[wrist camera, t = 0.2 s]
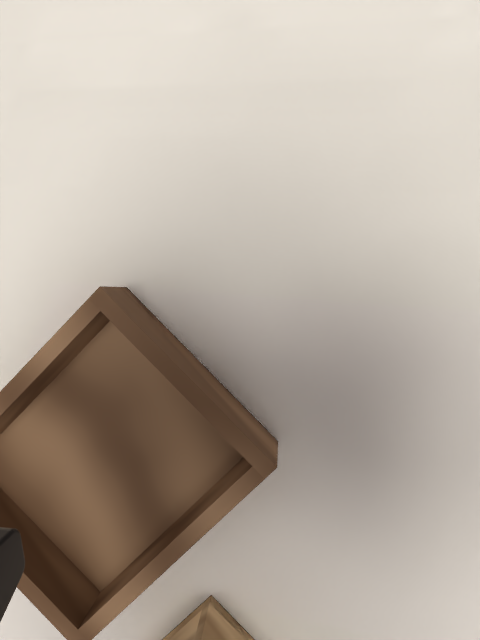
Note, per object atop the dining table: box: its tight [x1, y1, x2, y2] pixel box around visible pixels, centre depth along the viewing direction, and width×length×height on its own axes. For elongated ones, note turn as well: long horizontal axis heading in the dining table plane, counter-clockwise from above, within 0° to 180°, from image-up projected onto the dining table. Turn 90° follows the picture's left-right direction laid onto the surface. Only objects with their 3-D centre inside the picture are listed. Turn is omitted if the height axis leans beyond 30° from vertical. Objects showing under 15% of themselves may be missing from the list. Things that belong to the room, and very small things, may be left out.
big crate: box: [0, 287, 278, 640], centre depth 23 cm, size 14×12×4 cm
